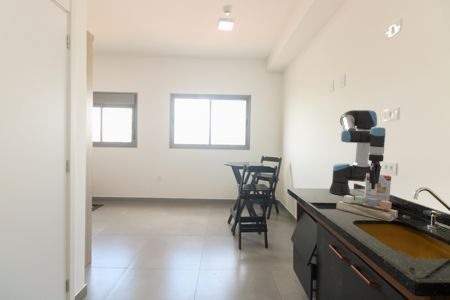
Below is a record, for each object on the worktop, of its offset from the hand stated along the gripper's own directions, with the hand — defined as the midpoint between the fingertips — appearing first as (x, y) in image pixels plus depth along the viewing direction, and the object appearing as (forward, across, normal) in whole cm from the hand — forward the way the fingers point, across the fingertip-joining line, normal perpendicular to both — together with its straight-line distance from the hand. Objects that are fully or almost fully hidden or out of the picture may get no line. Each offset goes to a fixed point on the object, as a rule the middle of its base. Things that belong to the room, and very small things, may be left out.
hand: (373, 194), depth 161 cm
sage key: (+9, 0, -7) cm, 11 cm away
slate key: (+9, 0, 0) cm, 9 cm away
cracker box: (+12, -22, -6) cm, 26 cm away
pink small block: (+9, 0, +7) cm, 11 cm away
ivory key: (+10, 0, -14) cm, 17 cm away
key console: (+12, 0, -4) cm, 12 cm away
